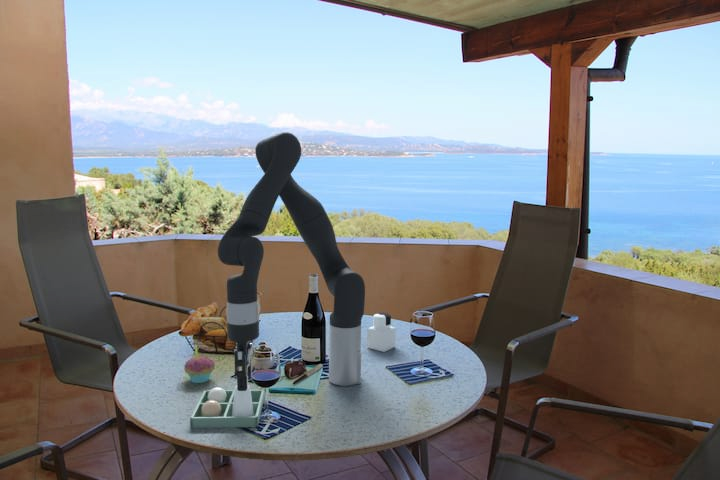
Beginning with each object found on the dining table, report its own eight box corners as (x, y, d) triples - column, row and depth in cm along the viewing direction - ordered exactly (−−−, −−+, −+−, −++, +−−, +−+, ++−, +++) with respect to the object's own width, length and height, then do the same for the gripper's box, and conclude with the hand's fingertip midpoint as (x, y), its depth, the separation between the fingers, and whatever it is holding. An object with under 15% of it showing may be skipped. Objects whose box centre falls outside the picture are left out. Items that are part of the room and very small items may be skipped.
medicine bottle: (378, 342, 195) (379, 310, 193) (395, 346, 191) (396, 313, 189) (367, 347, 189) (367, 314, 187) (384, 352, 185) (385, 318, 183)
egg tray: (264, 400, 147) (264, 389, 146) (257, 429, 131) (257, 417, 131) (204, 400, 146) (204, 390, 145) (190, 430, 130) (190, 418, 130)
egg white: (228, 401, 144) (227, 384, 144) (225, 409, 140) (224, 391, 139) (209, 401, 144) (209, 384, 143) (205, 409, 139) (205, 392, 139)
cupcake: (206, 388, 153) (205, 347, 152) (178, 385, 155) (177, 345, 153) (220, 377, 162) (219, 338, 160) (193, 374, 163) (192, 335, 162)
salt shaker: (241, 411, 139) (241, 370, 137) (258, 416, 136) (258, 374, 135) (226, 420, 134) (226, 377, 132) (244, 425, 131) (243, 382, 130)
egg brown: (223, 414, 137) (222, 396, 136) (219, 423, 132) (219, 405, 131) (203, 414, 137) (203, 396, 136) (199, 424, 132) (198, 405, 131)
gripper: (255, 327, 124) (257, 395, 126) (261, 310, 138) (262, 371, 141) (222, 328, 123) (224, 396, 126) (231, 310, 137) (233, 372, 140)
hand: (244, 382), depth 133 cm, fingers open, 8 cm apart
